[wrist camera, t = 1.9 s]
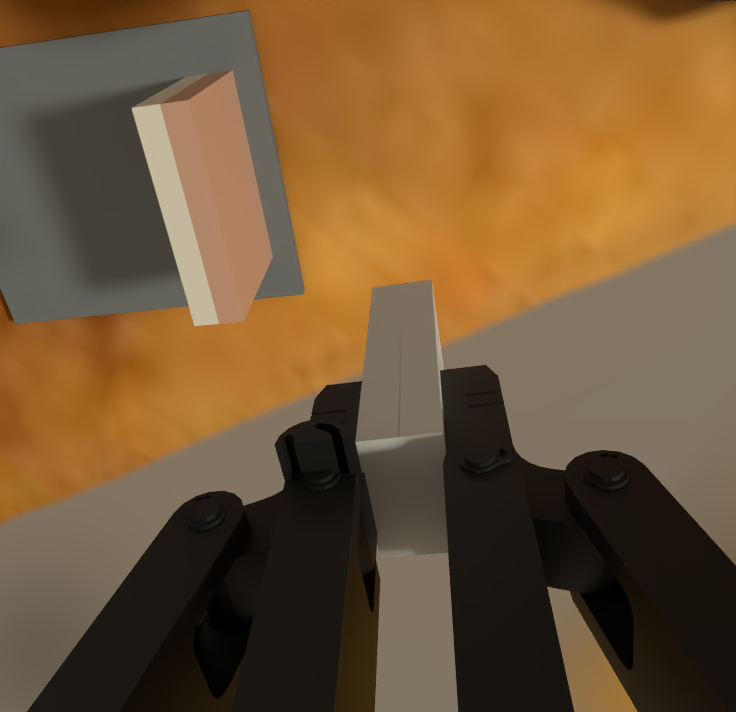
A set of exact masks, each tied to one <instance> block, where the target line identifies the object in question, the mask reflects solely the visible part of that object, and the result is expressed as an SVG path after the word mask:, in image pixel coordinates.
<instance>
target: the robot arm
mask: <svg viewBox="0 0 736 712" xmlns="http://www.w3.org/2000/svg"><path fill="white" fill-rule="evenodd" d="M275 447H276V451H277V455H278V458H279V461H280V465H281V469H282V472H283V476H284V479H285V484H284V488H283V490H282V491H280V492H279V493H277V494H275V495H273V496H271V497H268V498H266V499H263V500H260V501H257V502H254V503H251V504H248V505H245V506H243V503H242V500H241V499H240V498H239V497H238V496H236V495H235V494H234V493H229V492H226V491H216V492H208V493H205V494H202V495H199V496H196V497H194V498H192V499H191V500H189V501H187V502H185V503H184V504H183V505H181V507H179V508H178V510H176V512H175V513H174V514H173V515H172V516H171V518H170V519H169V520H168V522H167V523H166V524H165V526H164V527H163V529H162V530H161V531H160V532H159V534H158V535H157V537H156V538H155V539H154V541H153V542H152V543H151V545H150V546H149V547H148V549H147V550H146V551H145V553H144V554H143V555H142V557H141V558H140V559H139V561H138V562H137V564H136V565H135V566H134V568H133V569H132V570H131V572H130V573H129V574H128V576H127V577H126V579H125V580H124V581H123V583H122V584H121V585H120V587H119V588H118V589H117V591H116V592H115V594H114V595H113V596H112V597H111V599H110V600H109V601H108V603H107V604H106V605H105V607H104V608H103V610H102V611H101V612H100V614H99V615H98V616H97V618H96V619H95V620H94V622H93V623H92V624H91V626H90V627H89V628H88V630H87V631H86V633H85V634H84V635H83V637H82V638H81V639H80V641H79V642H78V644H77V645H76V646H75V648H74V649H73V650H72V651H71V653H70V654H69V656H68V657H67V658H66V660H65V661H64V662H63V664H62V665H61V666H60V668H59V669H58V670H57V672H56V673H55V675H54V676H53V677H52V679H51V680H50V681H49V683H48V684H47V685H46V687H45V688H44V689H43V691H42V692H41V693H40V695H39V696H38V697H37V699H36V700H35V702H34V703H33V704H32V706H31V707H30V709H29V710H28V711H27V712H375V690H376V667H377V643H378V619H379V595H380V577H379V572H378V567H377V563H376V548H377V547H376V546H377V545H378V549H379V554H380V558H387V557H399V556H410V555H423V554H434V553H445V552H448V555H449V571H450V587H451V602H452V618H453V634H454V650H455V666H456V681H457V698H458V712H574V709H573V704H572V699H571V695H570V690H569V685H568V681H567V676H566V672H565V667H564V662H563V658H562V653H561V649H560V644H559V640H558V635H557V630H556V626H555V621H554V617H553V612H552V607H551V603H550V598H549V594H548V589H547V587H552V588H557V589H563V590H568V591H570V593H571V596H572V600H573V601H574V603H575V605H576V606H577V608H578V610H579V612H580V613H581V615H582V617H583V619H584V620H585V622H586V624H587V625H588V627H589V629H590V631H591V632H592V634H593V636H594V637H595V639H596V641H597V643H598V644H599V646H600V648H601V649H602V651H603V653H604V655H605V656H606V658H607V660H608V661H609V663H610V665H611V666H612V668H613V670H614V672H615V673H616V675H617V677H618V679H619V680H620V682H621V684H622V685H623V687H624V689H625V691H626V692H627V694H628V696H629V697H630V699H631V701H632V702H633V704H634V706H635V708H636V709H637V711H638V712H736V565H735V564H734V563H733V562H732V561H731V560H730V559H729V558H728V557H727V555H726V554H725V553H724V552H723V551H722V550H721V549H720V548H719V547H718V545H717V544H716V543H715V542H714V541H713V540H712V539H711V538H710V537H709V536H708V534H707V533H706V532H705V531H704V530H703V529H702V528H701V527H700V526H699V525H698V523H697V522H696V521H695V520H694V519H693V518H692V517H691V516H690V515H689V514H688V512H687V511H686V510H685V509H684V508H683V507H682V506H681V505H680V504H679V502H678V501H677V500H676V499H675V498H674V497H673V496H672V495H671V494H670V493H669V491H668V490H667V489H666V488H665V487H664V486H663V485H662V484H661V483H660V481H659V480H658V479H657V478H656V477H655V476H654V475H653V474H652V473H651V472H650V471H649V469H648V468H647V467H646V466H645V465H644V464H643V463H641V462H640V461H638V460H637V459H636V458H634V457H632V456H630V455H627V454H624V453H621V452H617V451H607V450H600V451H592V452H587V453H584V454H582V455H580V456H577V457H575V458H574V459H573V460H572V461H571V462H570V463H569V464H568V465H567V467H566V470H556V469H549V468H544V467H539V466H537V465H534V464H532V463H529V462H528V461H526V460H525V459H523V458H521V457H520V456H519V454H518V453H517V452H516V451H515V448H514V446H513V443H512V438H511V434H510V429H509V424H508V420H507V415H506V411H505V406H504V401H503V397H502V393H501V388H500V383H499V378H498V376H497V375H496V374H495V373H494V372H493V371H492V370H491V369H490V368H489V367H487V366H486V365H482V366H473V367H465V368H456V369H447V370H444V369H443V361H442V353H441V346H440V338H439V331H438V324H437V316H436V309H435V301H434V294H433V286H432V280H426V281H418V282H411V283H404V284H396V285H389V286H381V287H374V288H372V297H371V306H370V315H369V324H368V333H367V342H366V351H365V360H364V369H363V378H362V381H360V382H351V383H343V384H334V385H326V387H325V388H324V389H323V390H322V391H321V392H320V394H319V395H318V396H317V397H316V398H315V400H314V405H313V410H312V416H311V419H310V421H305V422H301V423H299V424H297V425H295V426H293V427H290V428H289V429H288V430H286V431H285V432H284V433H283V434H281V435H280V436H279V438H278V440H277V441H276V443H275Z"/></svg>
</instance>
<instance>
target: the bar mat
mask: <svg viewBox="0 0 736 712" xmlns="http://www.w3.org/2000/svg"><path fill="white" fill-rule="evenodd" d="M230 70H233V75H234V79H235V84H236V89H237V93H238V98H239V103H240V107H241V112H242V116H243V121H244V126H245V130H246V135H247V139H248V144H249V149H250V153H251V158H252V163H253V167H254V172H255V176H256V181H257V186H258V190H259V195H260V199H261V204H262V209H263V213H264V218H265V223H266V227H267V232H268V236H269V241H270V246H271V250H272V255H273V258H272V260H271V262H270V264H269V267H268V269H267V271H266V273H265V275H264V278H263V280H262V282H261V284H260V286H259V289H258V291H257V293H256V295H255V297H254V299H262V298H272V297H281V296H291V295H301V294H304V290H305V289H304V284H303V279H302V274H301V269H300V264H299V259H298V254H297V249H296V244H295V239H294V234H293V229H292V224H291V219H290V213H289V208H288V203H287V198H286V193H285V188H284V183H283V178H282V173H281V168H280V163H279V158H278V153H277V148H276V143H275V138H274V133H273V128H272V123H271V117H270V112H269V107H268V102H267V97H266V92H265V87H264V82H263V77H262V72H261V67H260V62H259V57H258V52H257V47H256V42H255V37H254V32H253V27H252V22H251V16H250V11H249V10H247V11H240V12H234V13H227V14H220V15H214V16H207V17H201V18H194V19H187V20H181V21H174V22H168V23H161V24H154V25H148V26H141V27H135V28H128V29H121V30H115V31H108V32H101V33H95V34H88V35H82V36H75V37H68V38H62V39H55V40H49V41H42V42H35V43H29V44H22V45H16V46H9V47H2V48H0V289H1V291H2V293H3V296H4V298H5V300H6V303H7V305H8V307H9V310H10V312H11V314H12V317H13V319H14V321H15V324H18V323H28V322H38V321H48V320H57V319H67V318H77V317H87V316H96V315H106V314H116V313H125V312H135V311H145V310H155V309H164V308H174V307H184V306H189V305H188V301H187V298H186V295H185V291H184V288H183V284H182V281H181V277H180V274H179V270H178V267H177V263H176V260H175V257H174V253H173V250H172V246H171V243H170V239H169V236H168V232H167V229H166V226H165V222H164V219H163V215H162V212H161V208H160V205H159V201H158V198H157V195H156V191H155V188H154V184H153V181H152V177H151V174H150V170H149V167H148V164H147V160H146V157H145V153H144V150H143V146H142V143H141V139H140V136H139V133H138V129H137V126H136V122H135V119H134V115H133V112H132V107H134V106H136V105H137V104H139V103H141V102H143V101H144V100H146V99H148V98H150V97H151V96H153V95H155V94H157V93H159V92H160V91H162V90H164V89H166V88H167V87H169V86H171V85H173V84H174V83H176V82H178V81H180V80H181V79H183V78H185V77H187V76H195V75H202V74H209V73H216V72H223V71H230Z"/></svg>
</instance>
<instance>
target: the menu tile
mask: <svg viewBox="0 0 736 712" xmlns="http://www.w3.org/2000/svg"><path fill="white" fill-rule="evenodd" d="M132 112H133V115H134V119H135V122H136V126H137V129H138V133H139V136H140V139H141V143H142V146H143V150H144V153H145V157H146V160H147V164H148V167H149V170H150V174H151V177H152V181H153V184H154V188H155V191H156V195H157V198H158V201H159V205H160V208H161V212H162V215H163V219H164V222H165V226H166V229H167V232H168V236H169V239H170V243H171V246H172V250H173V253H174V257H175V260H176V263H177V267H178V270H179V274H180V277H181V281H182V284H183V288H184V291H185V295H186V298H187V301H188V305H189V308H190V312H191V315H192V319H193V322H194V326H201V325H211V324H221V323H231V322H241V321H244V320H245V317H246V315H247V313H248V311H249V309H250V306H251V304H252V302H253V300H254V297H255V295H256V293H257V291H258V289H259V286H260V284H261V282H262V280H263V278H264V275H265V273H266V271H267V269H268V267H269V264H270V262H271V260H272V258H273V255H272V250H271V246H270V241H269V236H268V232H267V227H266V223H265V218H264V213H263V209H262V204H261V199H260V195H259V190H258V186H257V181H256V176H255V172H254V167H253V163H252V158H251V153H250V149H249V144H248V139H247V135H246V130H245V126H244V121H243V116H242V112H241V107H240V103H239V98H238V93H237V89H236V84H235V79H234V75H233V70H230V71H223V72H216V73H209V74H202V75H195V76H187V77H185V78H183V79H181V80H180V81H178V82H176V83H174V84H173V85H171V86H169V87H167V88H166V89H164V90H162V91H160V92H159V93H157V94H155V95H153V96H151V97H150V98H148V99H146V100H144V101H143V102H141V103H139V104H137V105H136V106H134V107H132Z"/></svg>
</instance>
